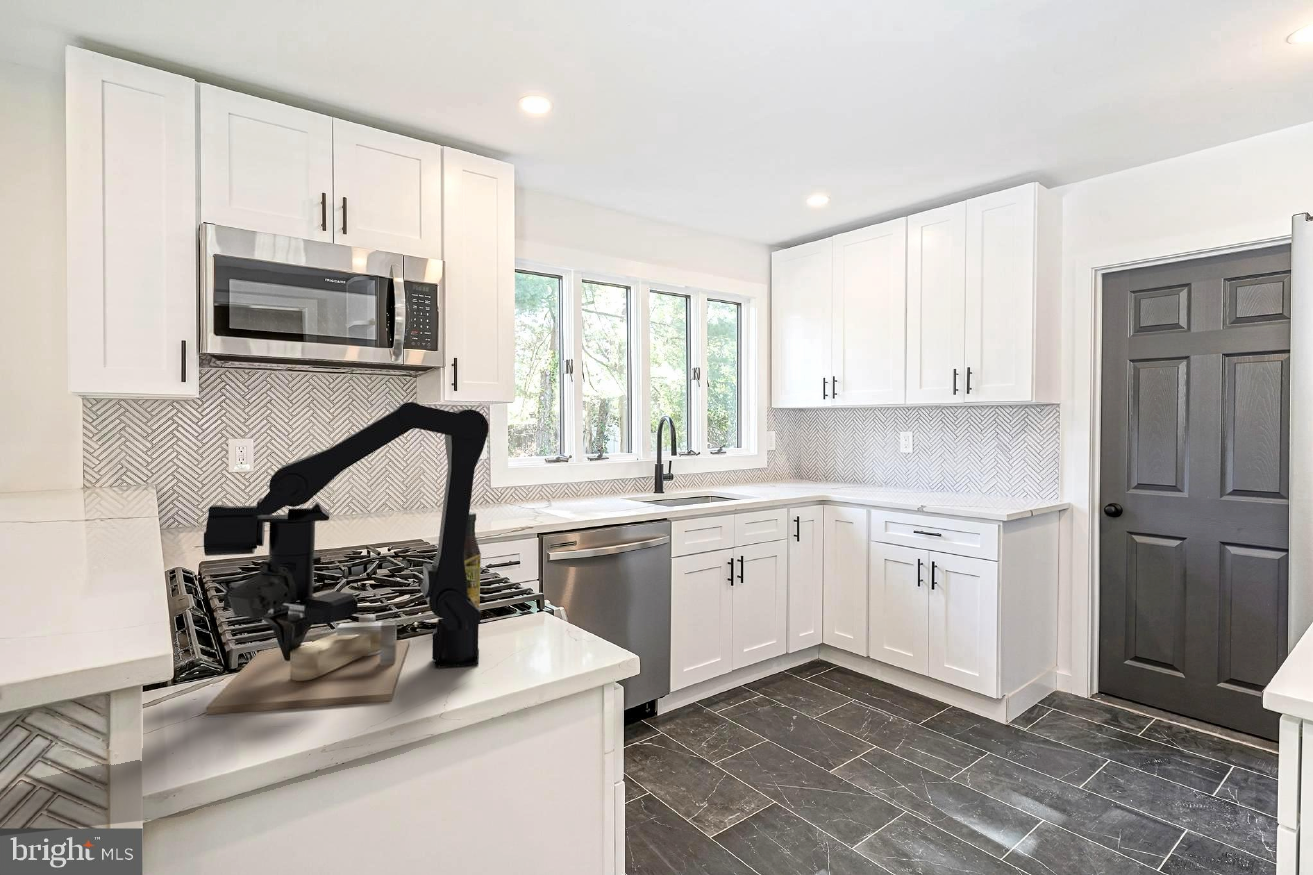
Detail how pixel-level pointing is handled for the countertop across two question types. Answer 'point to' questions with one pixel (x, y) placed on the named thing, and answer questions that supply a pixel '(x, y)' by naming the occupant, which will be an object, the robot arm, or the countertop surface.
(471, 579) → the sauce bottle
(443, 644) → the robot arm
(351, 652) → the oak link
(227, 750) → the countertop surface
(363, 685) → the base
